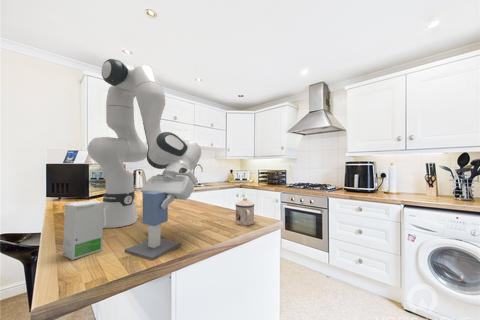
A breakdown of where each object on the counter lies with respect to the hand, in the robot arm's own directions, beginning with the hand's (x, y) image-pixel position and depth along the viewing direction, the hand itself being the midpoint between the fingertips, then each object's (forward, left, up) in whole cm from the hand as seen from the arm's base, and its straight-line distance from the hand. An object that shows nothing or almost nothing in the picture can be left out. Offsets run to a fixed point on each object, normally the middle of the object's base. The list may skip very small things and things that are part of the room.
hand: (153, 206), depth 65 cm
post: (0, +1, -14) cm, 14 cm away
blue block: (0, +1, -5) cm, 5 cm away
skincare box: (-17, -11, -14) cm, 25 cm away
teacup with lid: (+16, +39, -14) cm, 44 cm away
